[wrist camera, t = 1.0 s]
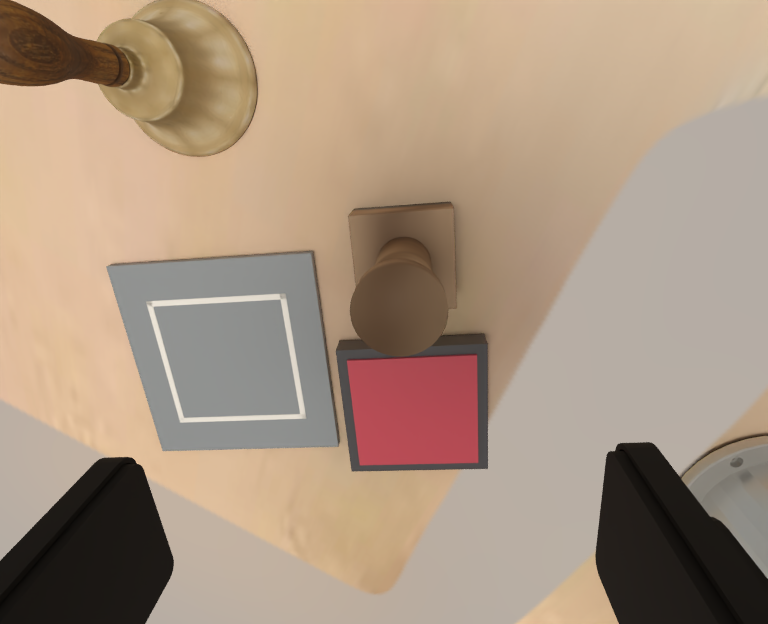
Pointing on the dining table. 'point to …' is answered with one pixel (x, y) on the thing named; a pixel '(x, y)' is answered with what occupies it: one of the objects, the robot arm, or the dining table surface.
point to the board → (230, 350)
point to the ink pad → (416, 405)
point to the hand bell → (146, 69)
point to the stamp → (402, 275)
